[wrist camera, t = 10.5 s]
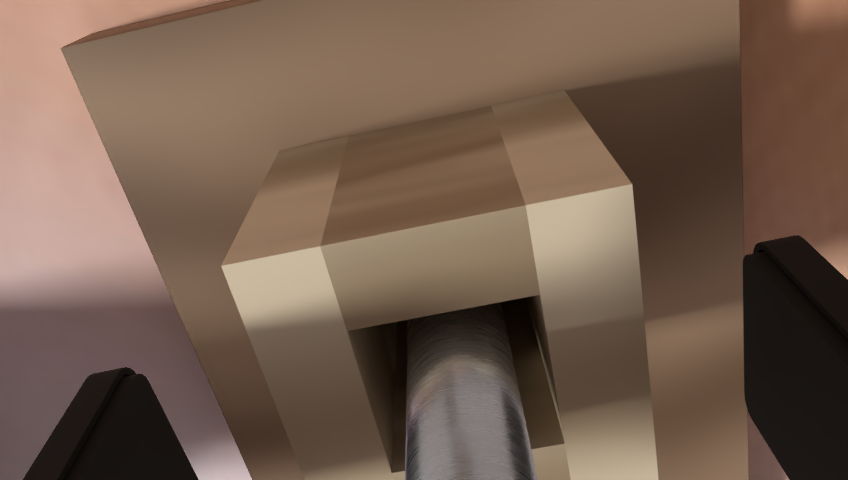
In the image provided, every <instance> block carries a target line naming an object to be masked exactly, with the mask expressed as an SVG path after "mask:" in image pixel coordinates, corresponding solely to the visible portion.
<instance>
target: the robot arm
mask: <svg viewBox="0 0 848 480" xmlns="http://www.w3.org/2000/svg"><path fill="white" fill-rule="evenodd" d="M743 333H744V396H745V402H746V406H747V409H748V412H749V414H750V416H751V418H752V420H753V422H754V423H755V425H756V427H757V428H758V430H759V431H760V433H761V435H762V436H763V438H764V439H765V441H766V443H767V444H768V446H769V447H770V449H771V451H772V452H773V454H774V455H775V457H776V459H777V460H778V462H779V463H780V465H781V467H782V468H783V470H784V471H785V473H786V475H787V476H788V478H789V479H790V480H848V280H847V279H846V278H845V277H844V276H843V275H842V274H841V273H840V272H839V271H838V270H837V269H835V268H834V267H833V266H832V265H831V264H830V263H829V262H828V261H827V260H826V259H825V258H824V257H823V256H822V255H820V254H819V253H818V252H817V251H816V250H815V249H814V248H813V247H812V246H811V245H810V244H809V243H808V242H807V241H806V240H804V239H803V238H802V237H800V236H790V237H785V238H780V239H775V240H770V241H765V242H760V243H757V244H756V245H755V248H754V253H753V254H750V255H746V256H745V257H744V259H743ZM23 480H198V478H197V476H196V474H195V472H194V470H193V468H192V466H191V464H190V462H189V460H188V458H187V456H186V454H185V452H184V450H183V448H182V446H181V444H180V442H179V440H178V438H177V436H176V435H175V433H174V431H173V429H172V427H171V425H170V423H169V421H168V419H167V417H166V415H165V413H164V411H163V409H162V407H161V405H160V403H159V401H158V399H157V397H156V395H155V393H154V391H153V389H152V387H151V385H150V383H149V381H148V380H147V378H146V377H145V376H144V375H143V374H136V373H135V372H134V371H133V370H132V369H131V368H127V367H125V368H120V369H115V370H109V371H104V372H99V373H94V374H92V375H90V376H89V377H88V378H87V379H86V380H85V382H84V383H83V385H82V386H81V388H80V390H79V391H78V393H77V394H76V396H75V398H74V399H73V401H72V402H71V404H70V406H69V407H68V409H67V410H66V412H65V413H64V415H63V417H62V418H61V420H60V421H59V423H58V425H57V426H56V428H55V429H54V431H53V433H52V434H51V436H50V437H49V439H48V441H47V442H46V444H45V445H44V447H43V449H42V450H41V452H40V453H39V455H38V456H37V458H36V460H35V461H34V463H33V464H32V466H31V468H30V469H29V471H28V472H27V474H26V476H25V477H24V479H23Z"/></svg>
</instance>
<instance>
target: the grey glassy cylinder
mask: <svg viewBox="0 0 848 480" xmlns="http://www.w3.org/2000/svg"><path fill="white" fill-rule="evenodd" d="M405 480H538V479H537V474H536V469H535V465H534V460H533V455H532V450H531V445H530V441H529V436H528V431H527V426H526V421H525V416H524V412H523V407H522V402H521V397H520V392H519V387H518V383H517V378H516V373H515V368H514V363H513V358H512V354H511V349H510V344H509V339H508V334H507V329H506V325H505V320H504V315H503V310H502V305H501V302H498V303H493V304H488V305H483V306H477V307H472V308H467V309H461V310H456V311H451V312H445V313H440V314H435V315H429V316H424V317H419V318H413V319H408V323H407V391H406V459H405Z"/></svg>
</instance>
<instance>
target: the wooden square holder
mask: <svg viewBox="0 0 848 480" xmlns="http://www.w3.org/2000/svg"><path fill="white" fill-rule="evenodd" d="M221 267H222V270H223V272H224V275H225V277H226V280H227V282H228V285H229V288H230V290H231V293H232V295H233V298H234V300H235V303H236V305H237V308H238V311H239V313H240V316H241V318H242V321H243V323H244V326H245V328H246V331H247V334H248V336H249V339H250V341H251V344H252V346H253V349H254V351H255V354H256V357H257V359H258V362H259V364H260V367H261V369H262V372H263V374H264V377H265V380H266V382H267V385H268V387H269V390H270V392H271V395H272V397H273V400H274V402H275V405H276V408H277V410H278V413H279V415H280V418H281V420H282V423H283V425H284V428H285V431H286V433H287V436H288V438H289V441H290V443H291V446H292V448H293V451H294V454H295V456H296V459H297V461H298V464H299V466H300V469H301V471H302V474H303V477H304V479H305V480H405V459H406V391H407V323H408V319H413V318H419V317H424V316H429V315H435V314H440V313H445V312H451V311H456V310H461V309H467V308H472V307H477V306H483V305H488V304H493V303H498V302H501V305H502V310H503V315H504V320H505V325H506V329H507V334H508V339H509V344H510V349H511V354H512V358H513V363H514V368H515V373H516V378H517V383H518V387H519V392H520V397H521V402H522V407H523V412H524V416H525V421H526V426H527V431H528V436H529V441H530V445H531V450H532V455H533V460H534V465H535V469H536V474H537V479H538V480H659V479H658V467H657V456H656V445H655V434H654V422H653V411H652V400H651V389H650V377H649V366H648V355H647V344H646V332H645V321H644V310H643V299H642V287H641V276H640V265H639V254H638V243H637V231H636V220H635V209H634V198H633V186H632V183H631V182H630V180H629V179H628V177H627V176H626V175H625V173H624V172H623V171H622V169H621V168H620V166H619V165H618V164H617V162H616V161H615V160H614V158H613V157H612V155H611V154H610V153H609V151H608V150H607V148H606V147H605V146H604V144H603V143H602V142H601V140H600V139H599V137H598V136H597V135H596V133H595V132H594V130H593V129H592V128H591V126H590V125H589V124H588V122H587V121H586V119H585V118H584V117H583V115H582V114H581V113H580V111H579V110H578V108H577V107H576V106H575V104H574V103H573V101H572V100H571V99H570V97H569V96H568V95H567V93H566V92H565V90H564V91H559V92H554V93H550V94H545V95H540V96H536V97H531V98H526V99H521V100H517V101H512V102H507V103H503V104H498V105H493V106H488V107H484V108H479V109H474V110H469V111H465V112H460V113H455V114H451V115H446V116H441V117H436V118H432V119H427V120H422V121H418V122H413V123H408V124H403V125H399V126H394V127H389V128H384V129H380V130H375V131H370V132H366V133H361V134H356V135H351V136H347V137H342V138H337V139H332V140H328V141H323V142H318V143H314V144H309V145H304V146H299V147H295V148H290V149H285V150H281V151H279V152H278V154H277V156H276V158H275V160H274V162H273V164H272V166H271V168H270V170H269V172H268V174H267V176H266V178H265V180H264V182H263V184H262V186H261V188H260V190H259V192H258V194H257V196H256V198H255V200H254V201H253V203H252V205H251V207H250V209H249V211H248V213H247V215H246V217H245V219H244V221H243V223H242V225H241V227H240V229H239V231H238V233H237V235H236V237H235V239H234V241H233V243H232V245H231V247H230V249H229V251H228V253H227V255H226V257H225V259H224V261H223V263H222V265H221Z"/></svg>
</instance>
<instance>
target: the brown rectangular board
mask: <svg viewBox="0 0 848 480" xmlns="http://www.w3.org/2000/svg"><path fill="white" fill-rule="evenodd" d="M61 50H62V53H63V55H64V57H65V59H66V62H67V64H68V66H69V68H70V71H71V73H72V75H73V77H74V80H75V82H76V84H77V86H78V89H79V91H80V93H81V95H82V98H83V100H84V102H85V104H86V107H87V109H88V111H89V113H90V116H91V118H92V120H93V122H94V125H95V127H96V129H97V131H98V134H99V136H100V138H101V140H102V143H103V145H104V147H105V149H106V152H107V154H108V156H109V158H110V161H111V163H112V165H113V167H114V170H115V172H116V174H117V176H118V179H119V181H120V183H121V185H122V188H123V190H124V192H125V194H126V197H127V199H128V201H129V203H130V206H131V208H132V210H133V212H134V215H135V217H136V219H137V221H138V224H139V226H140V228H141V230H142V233H143V235H144V237H145V239H146V242H147V244H148V246H149V248H150V251H151V253H152V255H153V257H154V260H155V262H156V264H157V266H158V269H159V271H160V273H161V275H162V278H163V280H164V282H165V284H166V287H167V289H168V291H169V293H170V296H171V298H172V300H173V302H174V304H175V307H176V309H177V311H178V313H179V316H180V318H181V320H182V322H183V325H184V327H185V329H186V331H187V334H188V336H189V338H190V340H191V343H192V345H193V347H194V349H195V352H196V354H197V356H198V358H199V361H200V363H201V365H202V367H203V370H204V372H205V374H206V376H207V379H208V381H209V383H210V385H211V388H212V390H213V392H214V394H215V397H216V399H217V401H218V403H219V406H220V408H221V410H222V412H223V415H224V417H225V419H226V421H227V424H228V426H229V428H230V430H231V433H232V435H233V437H234V439H235V442H236V444H237V446H238V448H239V451H240V453H241V455H242V457H243V460H244V462H245V464H246V466H247V469H248V471H249V473H250V475H251V478H252V480H305V479H304V477H303V474H302V471H301V469H300V466H299V464H298V461H297V459H296V456H295V454H294V451H293V448H292V446H291V443H290V441H289V438H288V436H287V433H286V431H285V428H284V425H283V423H282V420H281V418H280V415H279V413H278V410H277V408H276V405H275V402H274V400H273V397H272V395H271V392H270V390H269V387H268V385H267V382H266V380H265V377H264V374H263V372H262V369H261V367H260V364H259V362H258V359H257V357H256V354H255V351H254V349H253V346H252V344H251V341H250V339H249V336H248V334H247V331H246V328H245V326H244V323H243V321H242V318H241V316H240V313H239V311H238V308H237V305H236V303H235V300H234V298H233V295H232V293H231V290H230V288H229V285H228V282H227V280H226V277H225V275H224V272H223V270H222V267H221V265H222V263H223V261H224V259H225V257H226V255H227V253H228V251H229V249H230V247H231V245H232V243H233V241H234V239H235V237H236V235H237V233H238V231H239V229H240V227H241V225H242V223H243V221H244V219H245V217H246V215H247V213H248V211H249V209H250V207H251V205H252V203H253V201H254V200H255V198H256V196H257V194H258V192H259V190H260V188H261V186H262V184H263V182H264V180H265V178H266V176H267V174H268V172H269V170H270V168H271V166H272V164H273V162H274V160H275V158H276V156H277V154H278V152H279V151H281V150H285V149H290V148H295V147H299V146H304V145H309V144H314V143H318V142H323V141H328V140H332V139H337V138H342V137H347V136H351V135H356V134H361V133H366V132H370V131H375V130H380V129H384V128H389V127H394V126H399V125H403V124H408V123H413V122H418V121H422V120H427V119H432V118H436V117H441V116H446V115H451V114H455V113H460V112H465V111H469V110H474V109H479V108H484V107H488V106H493V105H498V104H503V103H507V102H512V101H517V100H521V99H526V98H531V97H536V96H540V95H545V94H550V93H554V92H559V91H564V90H565V92H566V93H567V95H568V96H569V97H570V99H571V100H572V101H573V103H574V104H575V106H576V107H577V108H578V110H579V111H580V113H581V114H582V115H583V117H584V118H585V119H586V121H587V122H588V124H589V125H590V126H591V128H592V129H593V130H594V132H595V133H596V135H597V136H598V137H599V139H600V140H601V142H602V143H603V144H604V146H605V147H606V148H607V150H608V151H609V153H610V154H611V155H612V157H613V158H614V160H615V161H616V162H617V164H618V165H619V166H620V168H621V169H622V171H623V172H624V173H625V175H626V176H627V177H628V179H629V180H630V182H631V183H632V186H633V198H634V209H635V220H636V231H637V243H638V254H639V265H640V276H641V287H642V299H643V310H644V321H645V332H646V344H647V355H648V366H649V377H650V389H651V400H652V411H653V422H654V434H655V445H656V456H657V467H658V479H659V480H749V470H748V420H747V406H746V402H745V396H744V333H743V259H744V219H743V168H742V118H741V68H740V17H739V0H231V1H227V2H223V3H218V4H214V5H210V6H206V7H201V8H197V9H193V10H189V11H185V12H180V13H176V14H172V15H168V16H164V17H159V18H155V19H151V20H147V21H143V22H138V23H134V24H130V25H126V26H122V27H117V28H113V29H109V30H105V31H101V32H96V33H92V34H90V35H88V36H86V37H83V38H81V39H79V40H77V41H75V42H73V43H71V44H68V45H66V46H64V47H62V48H61Z"/></svg>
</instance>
